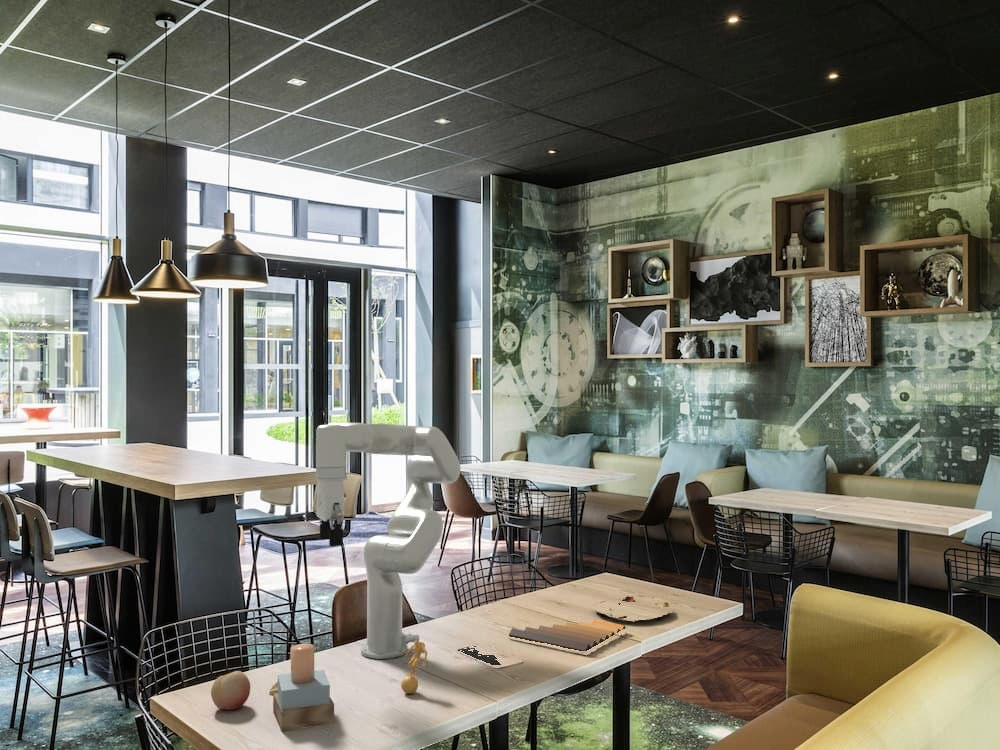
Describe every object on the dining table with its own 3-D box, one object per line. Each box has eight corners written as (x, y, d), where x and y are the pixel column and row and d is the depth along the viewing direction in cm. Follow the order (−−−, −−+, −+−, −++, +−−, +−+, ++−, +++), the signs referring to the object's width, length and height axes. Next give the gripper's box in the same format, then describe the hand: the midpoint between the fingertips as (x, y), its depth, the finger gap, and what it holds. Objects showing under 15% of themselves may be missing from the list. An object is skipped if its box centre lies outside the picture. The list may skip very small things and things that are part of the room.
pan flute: (508, 641, 227) (585, 658, 213) (508, 629, 227) (585, 645, 213) (554, 621, 248) (626, 635, 233) (554, 610, 248) (626, 623, 233)
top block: (323, 687, 179) (323, 669, 179) (329, 703, 170) (329, 684, 170) (277, 693, 176) (277, 674, 176) (281, 710, 167) (281, 690, 167)
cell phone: (481, 646, 222) (482, 643, 222) (523, 663, 208) (523, 660, 208) (456, 653, 217) (456, 649, 217) (497, 670, 203) (497, 667, 203)
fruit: (229, 699, 183) (229, 664, 183) (257, 704, 180) (257, 669, 180) (203, 712, 175) (204, 675, 176) (232, 717, 172) (232, 680, 173)
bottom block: (323, 706, 180) (323, 686, 180) (334, 724, 170) (334, 703, 170) (273, 714, 175) (273, 693, 175) (281, 733, 165) (281, 711, 165)
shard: (286, 680, 197) (286, 672, 197) (315, 681, 196) (315, 674, 196) (267, 696, 186) (267, 689, 186) (299, 698, 185) (299, 690, 185)
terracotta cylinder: (312, 673, 176) (311, 642, 176) (316, 681, 172) (316, 649, 172) (289, 677, 174) (288, 645, 174) (293, 685, 170) (292, 652, 170)
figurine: (393, 690, 189) (393, 639, 189) (414, 684, 192) (414, 634, 193) (412, 700, 182) (412, 648, 182) (433, 694, 186) (434, 642, 186)
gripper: (308, 471, 205) (308, 537, 204) (324, 477, 189) (324, 549, 189) (337, 470, 208) (336, 535, 208) (355, 476, 193) (355, 547, 192)
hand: (331, 542), depth 198 cm, fingers open, 9 cm apart
